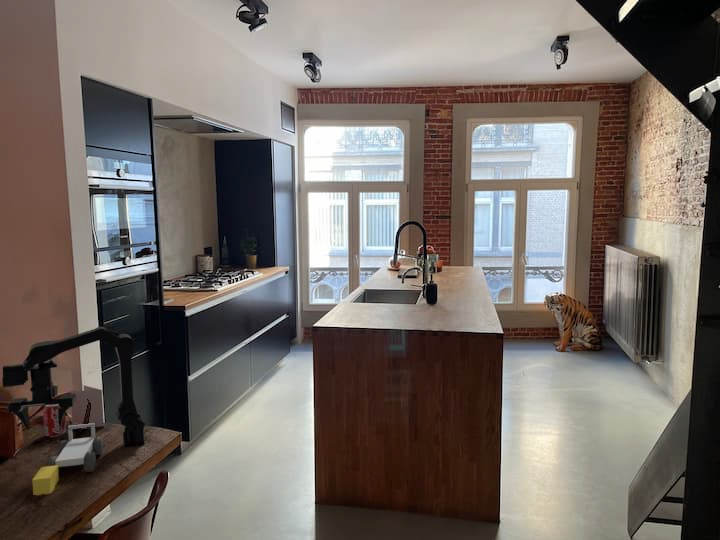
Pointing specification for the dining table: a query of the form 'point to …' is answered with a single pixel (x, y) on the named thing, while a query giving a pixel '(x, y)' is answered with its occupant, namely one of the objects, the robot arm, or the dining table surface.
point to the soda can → (53, 421)
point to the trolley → (78, 450)
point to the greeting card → (81, 404)
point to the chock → (45, 480)
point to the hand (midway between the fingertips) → (44, 427)
